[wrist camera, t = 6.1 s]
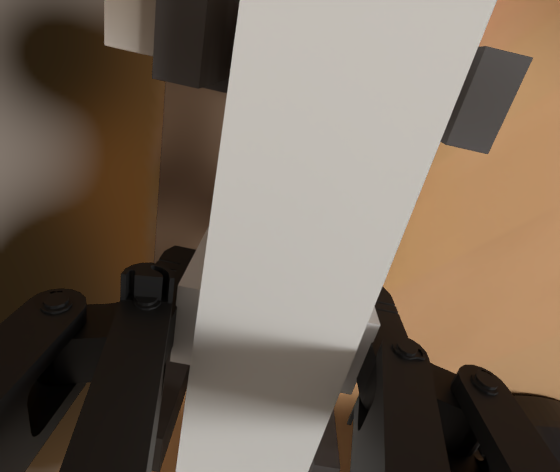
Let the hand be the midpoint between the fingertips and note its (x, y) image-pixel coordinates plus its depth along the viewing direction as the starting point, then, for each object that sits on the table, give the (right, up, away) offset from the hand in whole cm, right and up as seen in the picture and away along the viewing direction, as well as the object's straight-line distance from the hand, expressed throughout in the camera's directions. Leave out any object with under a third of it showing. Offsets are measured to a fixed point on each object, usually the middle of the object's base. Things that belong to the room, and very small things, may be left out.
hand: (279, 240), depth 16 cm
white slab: (0, -1, -2) cm, 2 cm away
